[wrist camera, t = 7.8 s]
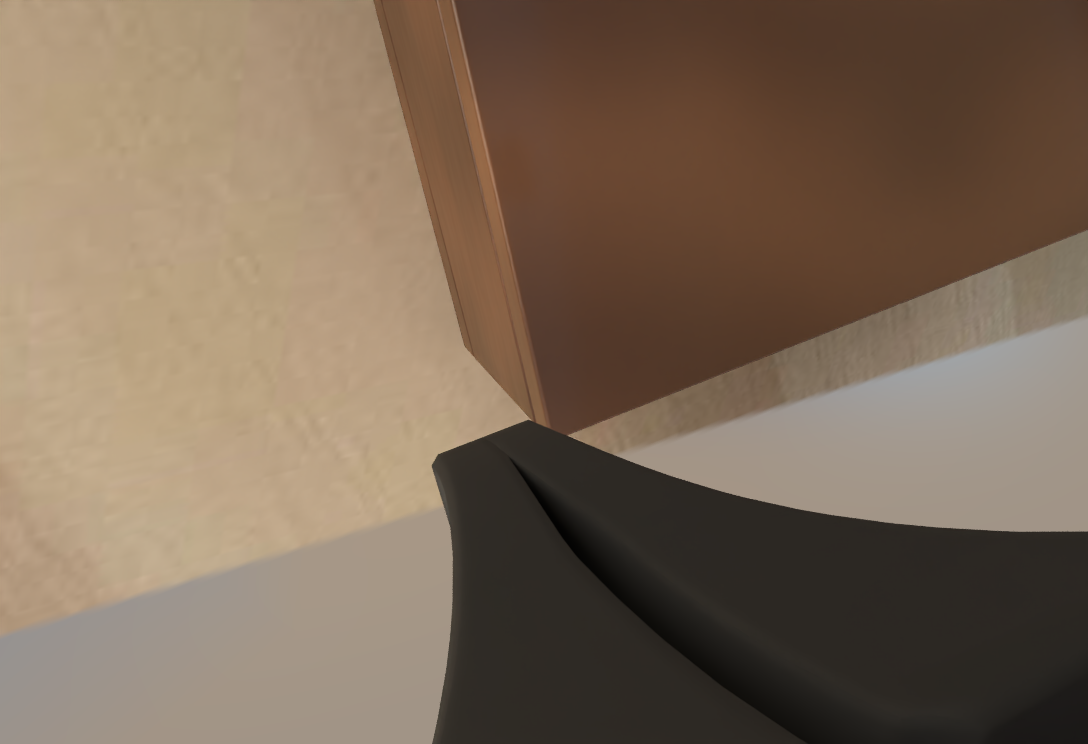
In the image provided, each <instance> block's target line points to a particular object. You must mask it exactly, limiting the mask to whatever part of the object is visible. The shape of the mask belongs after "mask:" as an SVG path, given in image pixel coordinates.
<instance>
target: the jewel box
mask: <svg viewBox="0 0 1088 744" xmlns="http://www.w3.org/2000/svg"><path fill="white" fill-rule="evenodd" d="M374 4H375V8H376V12H377V16H378V19H379V23H380V27H381V31H382V35H383V38H384V42H385V46H386V50H387V54H388V57H389V61H390V65H391V69H392V72H393V76H394V80H395V84H396V88H397V91H398V95H399V99H400V103H401V107H402V110H403V114H404V118H405V122H406V126H407V129H408V133H409V137H410V141H411V144H412V148H413V152H414V156H415V160H416V163H417V167H418V171H419V175H420V179H421V182H422V186H423V190H424V194H425V197H426V201H427V205H428V209H429V213H430V216H431V220H432V224H433V228H434V232H435V235H436V239H437V243H438V247H439V251H440V254H441V258H442V262H443V266H444V269H445V273H446V277H447V281H448V285H449V288H450V292H451V296H452V300H453V304H454V307H455V311H456V315H457V319H458V323H459V326H460V330H461V334H462V338H463V341H464V345H465V347H466V348H467V349H468V351H469V352H470V353H471V354H472V355H473V356H474V357H475V359H476V360H477V361H478V362H479V363H480V364H481V365H482V366H483V367H484V368H485V370H486V371H487V372H488V373H489V374H490V375H491V376H492V377H493V378H494V379H495V381H496V382H497V383H498V384H499V385H500V386H501V387H502V388H503V389H504V390H505V391H506V393H507V394H508V395H509V396H510V397H511V398H512V399H513V400H514V401H515V402H516V404H517V405H518V406H519V407H520V408H521V409H522V410H523V411H524V412H525V413H526V415H527V416H528V417H529V418H530V419H531V420H532V421H533V422H535V423H536V419H535V415H534V410H533V406H532V402H531V397H530V393H529V389H528V384H527V380H526V376H525V372H524V367H523V363H522V359H521V354H520V350H519V346H518V342H517V337H516V333H515V329H514V324H513V320H512V316H511V311H510V307H509V303H508V299H507V294H506V290H505V286H504V281H503V277H502V273H501V269H500V264H499V260H498V256H497V251H496V247H495V243H494V238H493V234H492V230H491V226H490V221H489V217H488V213H487V208H486V204H485V200H484V196H483V191H482V187H481V183H480V178H479V174H478V170H477V165H476V161H475V157H474V153H473V148H472V144H471V140H470V135H469V131H468V127H467V123H466V118H465V114H464V110H463V105H462V101H461V97H460V92H459V88H458V84H457V80H456V75H455V71H454V67H453V62H452V58H451V54H450V50H449V45H448V41H447V37H446V32H445V28H444V24H443V19H442V15H441V11H440V7H439V2H438V0H374Z"/></svg>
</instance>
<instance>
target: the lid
mask: <svg viewBox="0 0 1088 744" xmlns="http://www.w3.org/2000/svg"><path fill="white" fill-rule="evenodd" d="M438 2H439V7H440V11H441V15H442V19H443V24H444V28H445V32H446V37H447V41H448V45H449V50H450V54H451V58H452V62H453V67H454V71H455V75H456V80H457V84H458V88H459V92H460V97H461V101H462V105H463V110H464V114H465V118H466V123H467V127H468V131H469V135H470V140H471V144H472V148H473V153H474V157H475V161H476V165H477V170H478V174H479V178H480V183H481V187H482V191H483V196H484V200H485V204H486V208H487V213H488V217H489V221H490V226H491V230H492V234H493V238H494V243H495V247H496V251H497V256H498V260H499V264H500V269H501V273H502V277H503V281H504V286H505V290H506V294H507V299H508V303H509V307H510V311H511V316H512V320H513V324H514V329H515V333H516V337H517V342H518V346H519V350H520V354H521V359H522V363H523V367H524V372H525V376H526V380H527V384H528V389H529V393H530V397H531V402H532V406H533V410H534V415H535V419H536V423H538V424H540V425H542V426H545V427H547V428H550V429H552V430H554V431H557V432H559V433H561V434H564V435H566V436H567V435H569V434H572V433H574V432H577V431H579V430H582V429H584V428H587V427H589V426H592V425H594V424H597V423H599V422H602V421H605V420H607V419H610V418H612V417H615V416H617V415H620V414H622V413H625V412H627V411H630V410H632V409H635V408H637V407H640V406H643V405H645V404H648V403H650V402H653V401H655V400H658V399H660V398H663V397H665V396H668V395H670V394H673V393H675V392H678V391H681V390H683V389H686V388H688V387H691V386H693V385H696V384H698V383H701V382H703V381H706V380H708V379H711V378H713V377H716V376H719V375H721V374H724V373H726V372H729V371H731V370H734V369H736V368H739V367H741V366H744V365H746V364H749V363H751V362H754V361H757V360H759V359H762V358H764V357H767V356H769V355H772V354H774V353H777V352H779V351H782V350H784V349H787V348H789V347H792V346H795V345H797V344H800V343H802V342H805V341H807V340H810V339H812V338H815V337H817V336H820V335H822V334H825V333H828V332H830V331H833V330H835V329H838V328H840V327H843V326H845V325H848V324H850V323H853V322H855V321H858V320H860V319H863V318H866V317H868V316H871V315H873V314H876V313H878V312H881V311H883V310H886V309H888V308H891V307H893V306H896V305H898V304H901V303H904V302H906V301H909V300H911V299H914V298H916V297H919V296H921V295H924V294H926V293H929V292H931V291H934V290H936V289H939V288H942V287H944V286H947V285H949V284H952V283H954V282H957V281H959V280H962V279H964V278H967V277H969V276H972V275H974V274H977V273H980V272H982V271H985V270H987V269H990V268H992V267H995V266H997V265H1000V264H1002V263H1005V262H1007V261H1010V260H1012V259H1015V258H1018V257H1020V256H1023V255H1025V254H1028V253H1030V252H1033V251H1035V250H1038V249H1040V248H1043V247H1045V246H1048V245H1050V244H1053V243H1056V242H1058V241H1061V240H1063V239H1066V238H1068V237H1071V236H1073V235H1076V234H1078V233H1081V232H1083V231H1086V230H1088V0H438Z"/></svg>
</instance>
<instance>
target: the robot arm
mask: <svg viewBox="0 0 1088 744" xmlns="http://www.w3.org/2000/svg"><path fill="white" fill-rule="evenodd" d="M432 468H433V472H434V475H435V478H436V482H437V485H438V488H439V492H440V495H441V498H442V501H443V505H444V508H445V511H446V515H447V518H448V521H449V524H450V527H451V539H452V550H453V604H452V605H453V606H452V621H451V633H450V643H449V651H448V660H447V668H446V674H445V680H444V686H443V692H442V697H441V703H440V709H439V715H438V720H437V725H436V730H435V734H434V739H433V743H432V744H1088V532H1009V531H988V530H971V529H953V528H936V527H925V526H914V525H904V524H893V523H884V522H878V521H871V520H863V519H856V518H848V517H841V516H834V515H827V514H821V513H816V512H810V511H804V510H799V509H794V508H789V507H785V506H780V505H776V504H771V503H766V502H762V501H758V500H753V499H749V498H744V497H740V496H736V495H732V494H729V493H725V492H721V491H718V490H714V489H711V488H708V487H704V486H701V485H698V484H694V483H691V482H688V481H685V480H682V479H678V478H675V477H672V476H669V475H666V474H663V473H660V472H657V471H655V470H652V469H649V468H646V467H643V466H641V465H638V464H635V463H633V462H630V461H627V460H625V459H622V458H620V457H617V456H614V455H612V454H610V453H607V452H605V451H602V450H600V449H597V448H595V447H592V446H590V445H588V444H585V443H583V442H580V441H578V440H576V439H573V438H571V437H568V436H566V435H564V434H561V433H559V432H557V431H554V430H552V429H550V428H547V427H545V426H542V425H540V424H538V423H535V422H532V421H530V420H527V421H524V422H521V423H519V424H516V425H514V426H511V427H508V428H506V429H503V430H501V431H498V432H495V433H493V434H490V435H488V436H485V437H482V438H480V439H477V440H475V441H472V442H469V443H467V444H464V445H462V446H459V447H456V448H454V449H451V450H449V451H446V452H443V453H441V454H438V456H437V457H436V459H435V461H434V462H433V464H432Z"/></svg>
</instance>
